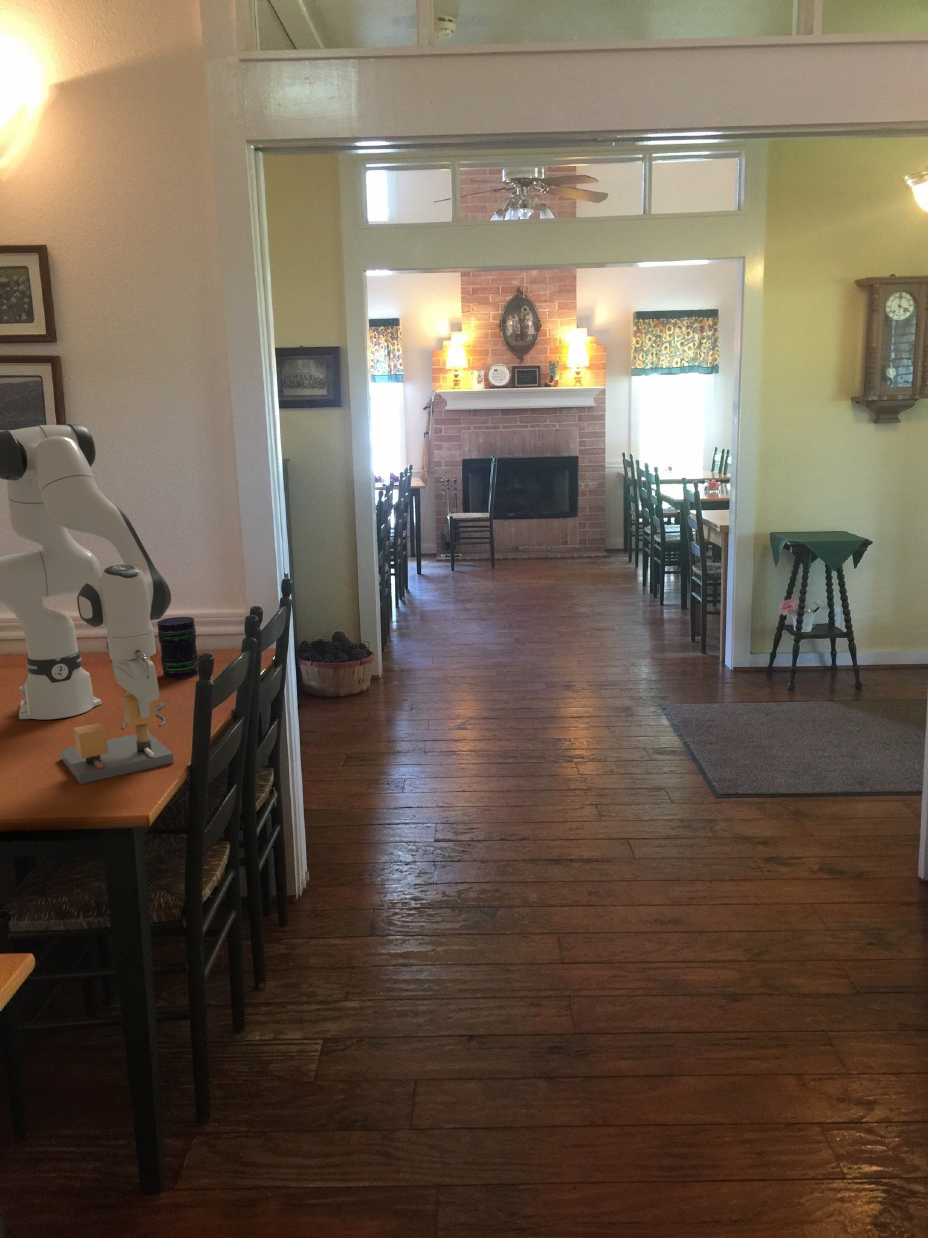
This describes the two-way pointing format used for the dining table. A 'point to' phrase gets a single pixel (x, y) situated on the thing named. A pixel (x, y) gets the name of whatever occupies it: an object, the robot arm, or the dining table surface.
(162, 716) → the pliers
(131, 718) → the tan wooden toy brick
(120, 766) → the board
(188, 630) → the storage jar
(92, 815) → the dining table surface
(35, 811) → the dining table surface
